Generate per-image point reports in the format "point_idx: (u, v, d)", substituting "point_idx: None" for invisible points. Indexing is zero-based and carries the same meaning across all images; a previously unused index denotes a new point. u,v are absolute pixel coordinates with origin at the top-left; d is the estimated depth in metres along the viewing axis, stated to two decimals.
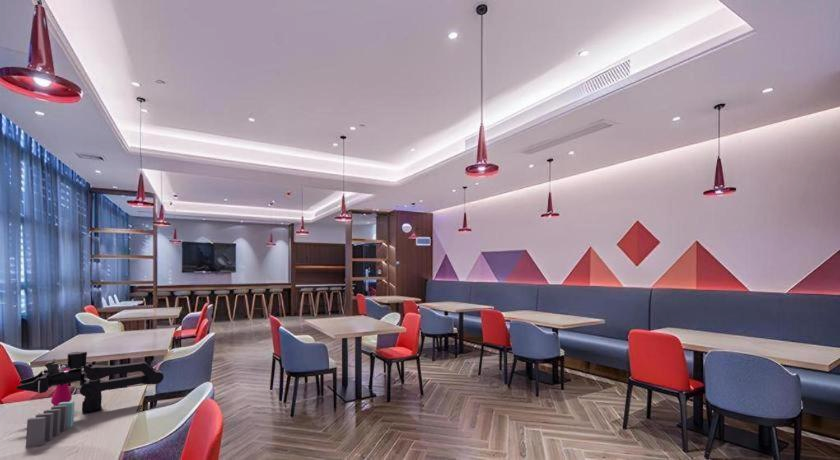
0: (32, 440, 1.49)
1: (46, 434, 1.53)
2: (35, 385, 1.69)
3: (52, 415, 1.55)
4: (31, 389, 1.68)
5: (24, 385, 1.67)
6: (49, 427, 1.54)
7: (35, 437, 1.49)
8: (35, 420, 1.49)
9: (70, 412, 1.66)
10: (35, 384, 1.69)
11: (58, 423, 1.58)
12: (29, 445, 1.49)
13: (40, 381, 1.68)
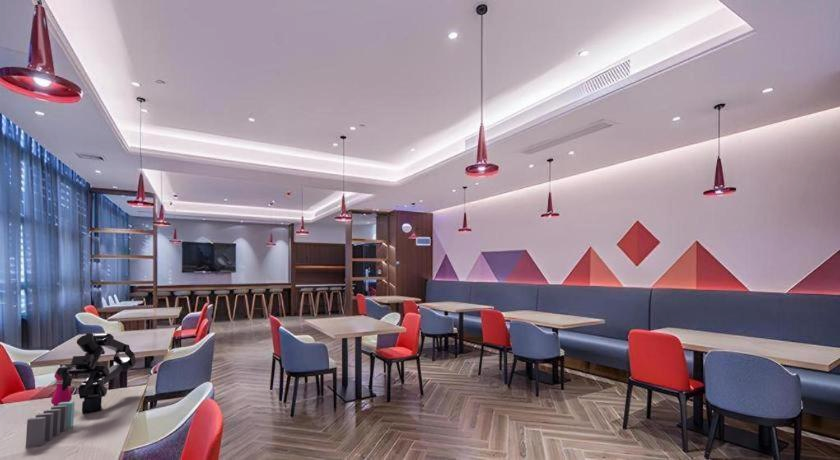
0: (32, 440, 1.49)
1: (46, 434, 1.53)
2: (94, 376, 1.77)
3: (52, 415, 1.55)
4: (94, 380, 1.77)
5: (88, 383, 1.74)
6: (49, 427, 1.54)
7: (35, 437, 1.49)
8: (35, 420, 1.49)
9: (70, 412, 1.66)
10: (93, 376, 1.77)
11: (58, 423, 1.58)
12: (29, 445, 1.49)
13: (104, 370, 1.78)
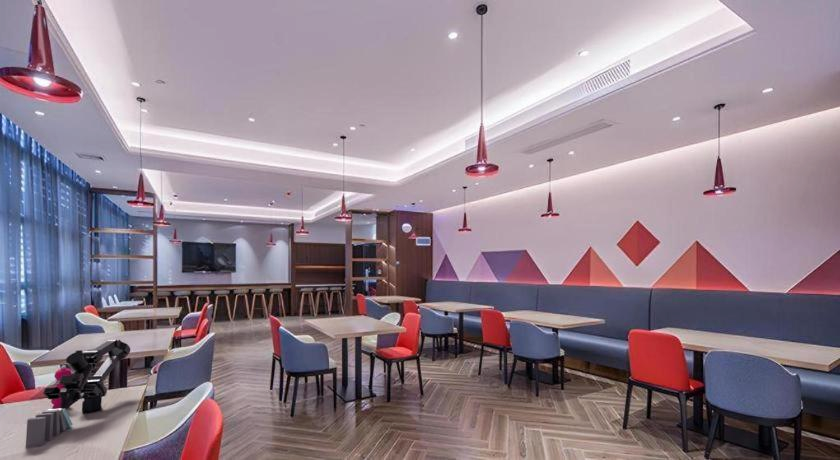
0: (32, 440, 1.49)
1: (46, 434, 1.53)
2: (73, 397, 1.69)
3: (52, 415, 1.55)
4: (74, 401, 1.69)
5: (67, 404, 1.66)
6: (49, 427, 1.54)
7: (35, 437, 1.49)
8: (35, 420, 1.49)
9: (64, 417, 1.62)
10: (72, 397, 1.69)
11: (57, 423, 1.58)
12: (29, 445, 1.49)
13: (94, 389, 1.70)
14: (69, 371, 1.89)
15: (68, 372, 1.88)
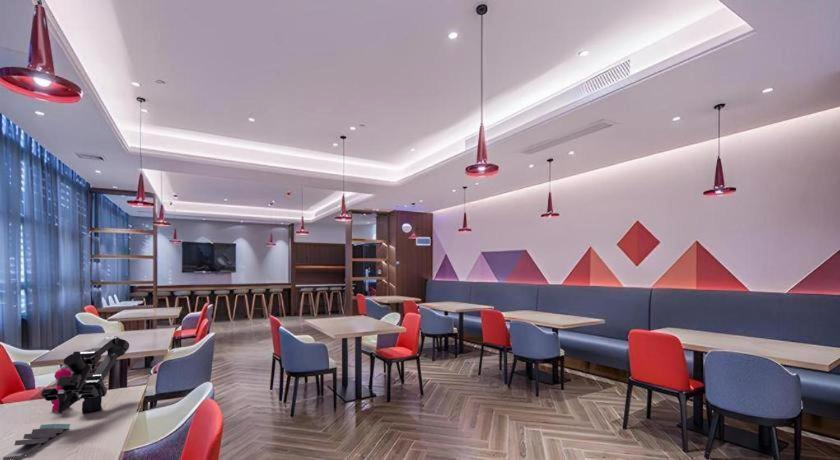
0: None
1: (40, 442, 1.50)
2: (71, 399, 1.67)
3: (33, 440, 1.45)
4: (71, 403, 1.68)
5: (65, 406, 1.64)
6: (38, 442, 1.48)
7: None
8: None
9: None
10: (70, 398, 1.67)
11: (48, 435, 1.53)
12: None
13: (92, 391, 1.69)
14: (69, 371, 1.89)
15: (68, 372, 1.88)
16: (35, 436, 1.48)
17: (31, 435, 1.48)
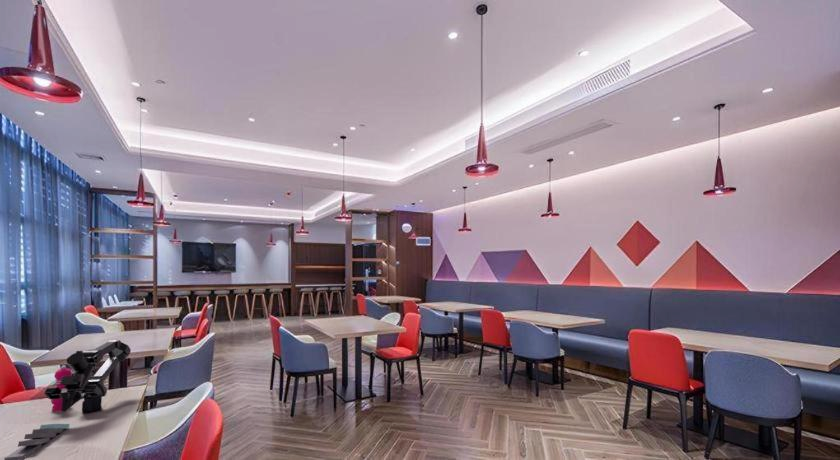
0: None
1: (42, 442, 1.50)
2: (74, 397, 1.69)
3: (37, 441, 1.45)
4: (75, 401, 1.70)
5: (68, 405, 1.66)
6: (41, 443, 1.48)
7: None
8: None
9: None
10: (73, 397, 1.69)
11: (49, 435, 1.53)
12: None
13: (95, 390, 1.71)
14: (69, 371, 1.89)
15: (68, 372, 1.88)
16: (36, 436, 1.48)
17: (32, 435, 1.48)
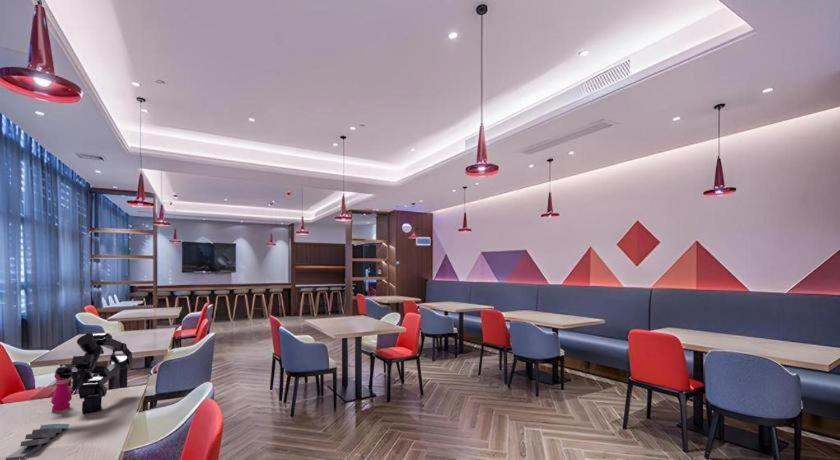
0: None
1: None
2: (84, 377, 1.76)
3: (39, 441, 1.45)
4: (84, 381, 1.76)
5: (78, 383, 1.73)
6: None
7: None
8: None
9: None
10: (83, 376, 1.76)
11: (49, 435, 1.53)
12: None
13: (104, 370, 1.78)
14: None
15: None
16: (37, 436, 1.48)
17: (33, 435, 1.48)
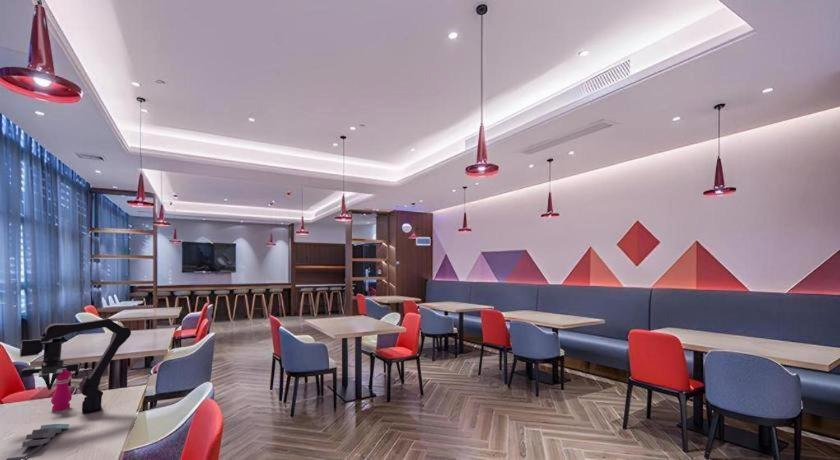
0: None
1: None
2: None
3: (41, 441, 1.45)
4: None
5: None
6: None
7: None
8: None
9: None
10: None
11: (49, 435, 1.53)
12: None
13: (78, 369, 1.79)
14: None
15: (68, 372, 1.88)
16: (39, 436, 1.48)
17: (34, 435, 1.47)
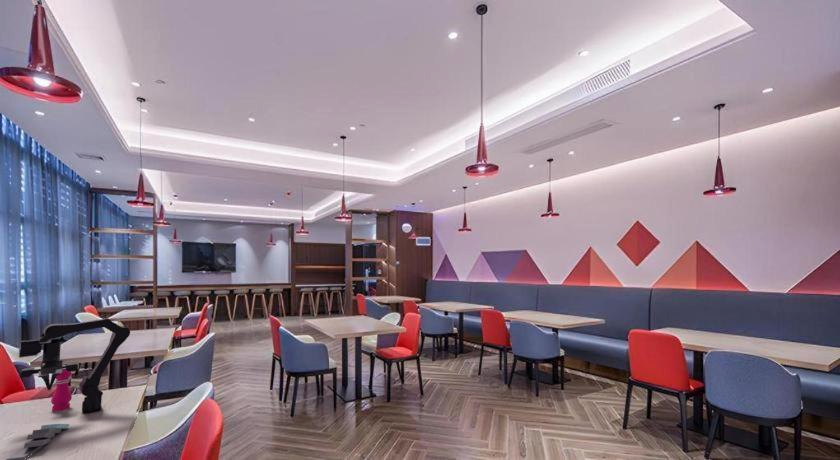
0: None
1: None
2: None
3: (43, 442, 1.45)
4: None
5: (52, 383, 1.75)
6: (45, 443, 1.48)
7: None
8: None
9: None
10: None
11: (50, 435, 1.53)
12: None
13: (77, 369, 1.79)
14: None
15: (68, 372, 1.88)
16: (40, 436, 1.48)
17: (35, 435, 1.47)
